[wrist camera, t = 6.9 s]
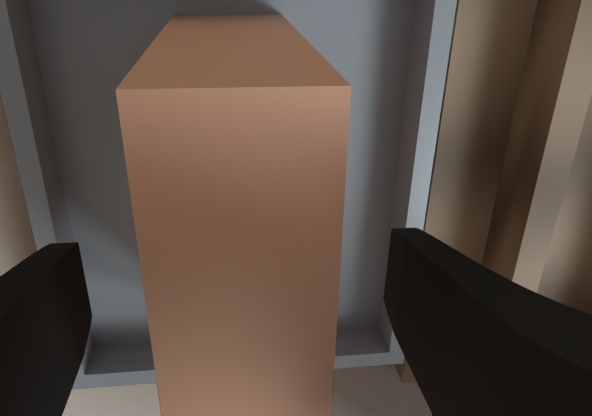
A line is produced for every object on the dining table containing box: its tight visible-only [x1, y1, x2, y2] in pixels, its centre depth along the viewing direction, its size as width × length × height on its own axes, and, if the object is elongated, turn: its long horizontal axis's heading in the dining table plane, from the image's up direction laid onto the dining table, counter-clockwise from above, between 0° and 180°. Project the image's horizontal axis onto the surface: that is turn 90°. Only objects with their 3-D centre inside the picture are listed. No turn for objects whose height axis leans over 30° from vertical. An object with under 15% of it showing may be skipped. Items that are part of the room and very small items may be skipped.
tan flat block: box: [115, 14, 352, 416], centre depth 13 cm, size 10×3×9 cm, turn 179°
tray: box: [0, 0, 457, 389], centre depth 16 cm, size 14×12×2 cm
